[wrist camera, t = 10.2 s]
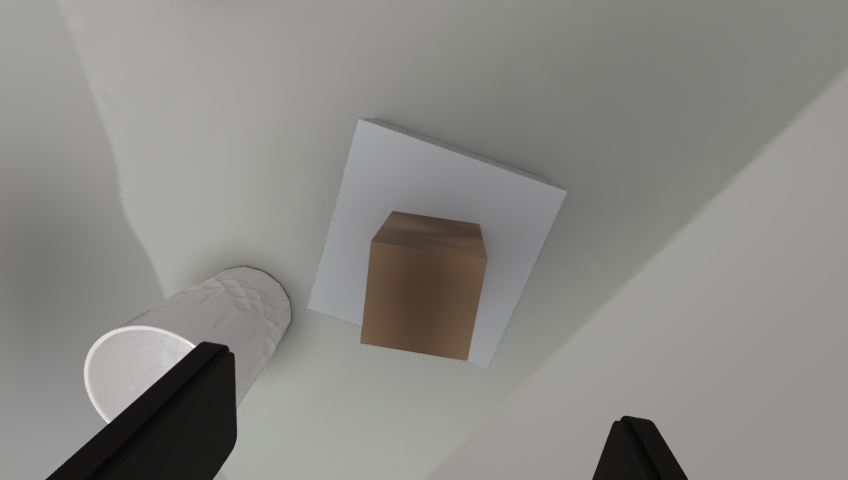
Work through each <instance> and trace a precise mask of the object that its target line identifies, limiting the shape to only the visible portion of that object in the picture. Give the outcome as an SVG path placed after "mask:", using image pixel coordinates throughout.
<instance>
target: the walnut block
mask: <svg viewBox="0 0 848 480" xmlns="http://www.w3.org/2000/svg"><path fill="white" fill-rule="evenodd" d="M487 260H488V259H487V255H486V250H485V246H484V242H483V237H482V233H481V229H480V224H475V223H469V222H462V221H456V220H449V219H443V218H436V217H430V216H423V215H417V214H410V213H404V212H397V211H392V212H391V214H390V215H389V216H388V218H387V219H386V221H385V222H384V223H383V225H382V226H381V228H380V229H379V230H378V232H377V233H376V235H375V236H374V238H373V239H372V240H371V245H370V255H369V265H368V274H367V284H366V294H365V303H364V313H363V322H362V332H361V342H360V343H362V344H368V345H374V346H381V347H387V348H393V349H399V350H405V351H411V352H417V353H423V354H429V355H435V356H441V357H447V358H453V359H459V360H465V361H467V360H468V355H469V350H470V345H471V340H472V335H473V330H474V325H475V320H476V315H477V310H478V305H479V300H480V295H481V290H482V285H483V280H484V275H485V270H486V265H487Z"/></svg>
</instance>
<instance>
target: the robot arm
mask: <svg viewBox="0 0 848 480" xmlns="http://www.w3.org/2000/svg"><path fill="white" fill-rule="evenodd" d="M236 439H237V417H236V377H235V355H234V353H232V352H230V350H229V347H228V346H227V345H223V344H217V343H212V342H206V341H204V342H201V343H200V344H198V345H197V346H196V347H195V348H194V349H193V350H191V351H190V352H189V353H188V354H187V355H186V356H185V357H183V358H182V359H181V360H180V361H179V362H178V363H177V364H176V365H174V366H173V367H172V368H171V369H170V370H169V371H168V372H167V373H165V374H164V375H163V376H162V377H161V378H160V379H159V380H157V381H156V382H155V383H154V384H153V385H152V386H151V387H150V388H148V389H147V390H146V391H145V392H144V393H143V394H142V395H141V396H139V397H138V398H137V399H136V400H135V401H134V402H133V403H132V404H130V405H129V406H128V407H127V408H126V409H125V410H124V411H122V412H121V413H120V414H119V415H118V416H117V417H116V418H115V419H113V420H112V421H111V422H110V423H109V424H108V425H107V426H106V427H105V428H103V429H102V430H101V431H100V432H99V433H98V434H97V435H95V436H94V437H93V438H92V439H91V440H90V441H89V442H88V443H86V444H85V445H84V446H83V447H82V448H81V449H80V450H78V451H77V452H76V453H75V454H74V455H73V456H72V457H71V458H69V459H68V460H67V461H66V462H65V463H64V464H63V465H62V466H60V467H59V468H58V469H57V470H56V471H55V472H54V473H53V474H51V475H50V476H49V477H48V478H47V479H46V480H213V479H214V477H215V475H216V474H217V473H218V471H219V470H220V468H221V467H222V465H223V464H224V462H225V461H226V459H227V458H228V456H229V455H230V453H231V452H232V450H233V448H234V446H235V443H236ZM592 480H688V479H687V477H686V475H685V474H684V472H683V470H682V469H681V467H680V465H679V464H678V462H677V460H676V459H675V457H674V455H673V454H672V452H671V450H670V449H669V447H668V445H667V444H666V442H665V440H664V439H663V437H662V436H661V434H660V432H659V431H658V429H657V428H656V426H655V424H654V423H653V422H652V421H650V420H647V419H642V418H635V417H631V416H623V417H622V418H621V420H620V421H615V422H614V423H613V425H612V428H611V430H610V433H609V435H608V438H607V441H606V444H605V446H604V449H603V452H602V455H601V458H600V460H599V463H598V465H597V468H596V471H595V474H594V476H593V479H592Z"/></svg>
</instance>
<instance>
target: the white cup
mask: <svg viewBox="0 0 848 480" xmlns="http://www.w3.org/2000/svg"><path fill="white" fill-rule="evenodd" d="M290 321H291V308H290V301H289V299H288V297H287V295H286V293H285V292H284V290H283V288H282V286H281V285H280V284H279V283H278V282H277V281H275V280H274V279H273V278H271V277H270V276H269V275H268V274H266V273H265V272H263V271H259V270H256V269H252V268H249V267H245V266H244V267H237V268H230V269H225V270H223V271H221V272H220V273H218V274H216V275H215V276H213V277H211V278H209V279H208V280H206V281H203V282H201V283H198V284H196V285H194V286H192V287H190V288H188V289H186V290H184V291H183V292H181V293H178V294H176V295H174V296H172V297H171V298H169V299H167V300H165V301H164V302H162V303H160V304H158V305H156V306H155V307H153V308H151V309H149V310H148V311H146V312H144V313H143V314H141V315H139V316H137V317H135V318H133V319H132V320H130V321H128V322H126V323H124V324H123V325H121V326H119V327H117V328H115V329H114V330H112V331H110V332H108V333H106V334H105V335H103V336H102V337H101V338H99V339H98V340H97V341H96V342H95V343H94V345H93V346H92V347H91V349H90V351H89V353H88V355H87V358H86V361H85V366H84V381H85V385H86V390H87V392H88V395H89V398H90V400H91V402H92V404H93V405H94V407H95V409H96V410H97V412H98V413H99V414H100V415H101V417H102V418H103V419H104V420H105V421H106V422H107V423H108V424H109V423H110V422H111V421H112V420H113V419H115V418H116V417H117V416H118V415H119V414H120V413H121V412H122V411H124V410H125V409H126V408H127V407H128V406H129V405H130V404H132V403H133V402H134V401H135V400H136V399H137V398H138V397H139V396H141V395H142V394H143V393H144V392H145V391H146V390H147V389H148V388H150V387H151V386H152V385H153V384H154V383H155V382H156V381H157V380H159V379H160V378H161V377H162V376H163V375H164V374H165V373H167V372H168V371H169V370H170V369H171V368H172V367H173V366H174V365H176V364H177V363H178V362H179V361H180V360H181V359H182V358H183V357H185V356H186V355H187V354H188V353H189V352H190V351H191V350H193V349H194V348H195V347H196V346H197V345H198V344H200V343H201V342H204V341H206V342H212V343H217V344H223V345H227V346H228V347H229V350H230V352H232V353H234V355H235V377H236V409H237V408H238V406H239V405H240V403H241V402H242V400H243V399H244V397H245V396H246V394H247V393H248V391H249V390H250V388H251V387H252V385H253V384H254V382H255V381H256V379H257V378H258V376H259V375H260V373H261V372H262V370H263V369H264V367H265V366H266V364H267V362H268V360H269V359H270V357H271V356H272V354H273V353H274V351H275V349H276V346H277V344H278V343H279V341H280V340H281V339H282V337H283V336H284V334H285V332H286V330H287V328H288V326H289V323H290Z"/></svg>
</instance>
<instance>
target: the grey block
mask: <svg viewBox="0 0 848 480" xmlns="http://www.w3.org/2000/svg"><path fill="white" fill-rule="evenodd" d="M566 194H567V191H566V190H564V189H563V188H561V187H560V186H558V185H556V184H555V183H553V182H552V181H550V180H548V179H546V178H543V177H540V176H537V175H534V174H531V173H529V172H526V171H523V170H520V169H517V168H514V167H511V166H509V165H506V164H503V163H500V162H497V161H494V160H491V159H489V158H486V157H483V156H480V155H477V154H474V153H471V152H469V151H466V150H463V149H460V148H457V147H454V146H451V145H449V144H446V143H443V142H440V141H437V140H434V139H431V138H429V137H426V136H423V135H420V134H417V133H414V132H411V131H409V130H406V129H403V128H400V127H397V126H394V125H391V124H389V123H386V122H383V121H380V120H377V119H365V118H358V122H357V125H356V129H355V133H354V137H353V140H352V144H351V148H350V151H349V155H348V159H347V163H346V166H345V170H344V174H343V177H342V181H341V185H340V188H339V192H338V196H337V200H336V203H335V207H334V211H333V214H332V218H331V222H330V226H329V229H328V233H327V237H326V240H325V244H324V248H323V252H322V255H321V259H320V263H319V266H318V270H317V274H316V277H315V281H314V285H313V289H312V292H311V296H310V300H309V303H308V307H307V308H308V309H311V310H314V311H317V312H320V313H323V314H326V315H329V316H332V317H335V318H338V319H341V320H344V321H347V322H350V323H353V324H356V325H359V326H362V322H363V313H364V303H365V294H366V284H367V274H368V265H369V255H370V245H371V240H372V239H373V238H374V236H375V235H376V233H377V232H378V230H379V229H380V228H381V226H382V225H383V223H384V222H385V221H386V219H387V218H388V216H389V215H390V214H391V212H392V211H397V212H404V213H410V214H417V215H423V216H430V217H436V218H443V219H449V220H456V221H462V222H469V223H475V224H480V229H481V233H482V237H483V242H484V246H485V250H486V255H487V259H488V260H487V265H486V270H485V275H484V280H483V285H482V290H481V295H480V300H479V305H478V310H477V315H476V320H475V325H474V330H473V335H472V340H471V345H470V350H469V355H468V360H467V361H466V362H469V363H472V364H475V365H478V366H481V367H484V368H488V366H489V364H490V362H491V359H492V357H493V355H494V353H495V351H496V348H497V346H498V344H499V342H500V340H501V337H502V335H503V333H504V331H505V329H506V326H507V324H508V322H509V320H510V318H511V315H512V313H513V311H514V309H515V307H516V304H517V302H518V300H519V298H520V296H521V293H522V291H523V289H524V287H525V284H526V282H527V280H528V278H529V276H530V273H531V271H532V269H533V267H534V265H535V262H536V260H537V258H538V256H539V254H540V251H541V249H542V247H543V245H544V243H545V240H546V238H547V236H548V234H549V232H550V229H551V227H552V225H553V223H554V221H555V218H556V216H557V214H558V212H559V210H560V207H561V205H562V203H563V201H564V199H565V196H566ZM463 361H465V360H463Z"/></svg>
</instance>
